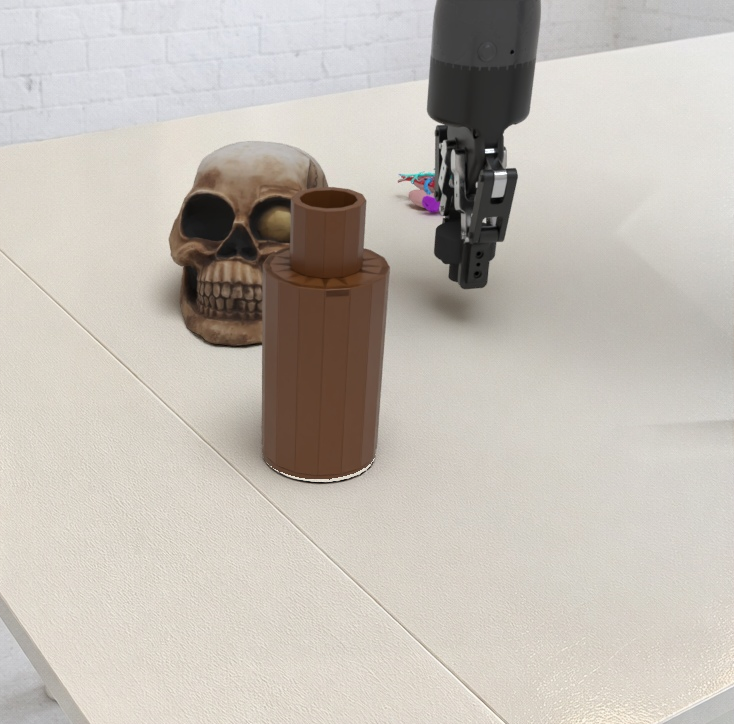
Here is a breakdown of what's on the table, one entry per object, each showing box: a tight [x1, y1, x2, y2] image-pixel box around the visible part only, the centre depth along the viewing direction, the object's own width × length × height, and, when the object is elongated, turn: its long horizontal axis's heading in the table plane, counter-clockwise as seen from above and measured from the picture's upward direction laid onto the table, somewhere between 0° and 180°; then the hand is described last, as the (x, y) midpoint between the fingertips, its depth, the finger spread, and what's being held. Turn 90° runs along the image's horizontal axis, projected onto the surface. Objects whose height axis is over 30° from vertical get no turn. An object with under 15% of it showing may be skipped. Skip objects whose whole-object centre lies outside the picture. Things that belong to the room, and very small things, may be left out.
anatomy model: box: [397, 167, 452, 214], centre depth 114 cm, size 5×8×7 cm
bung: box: [433, 220, 497, 283], centre depth 90 cm, size 5×5×4 cm
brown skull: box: [168, 140, 329, 347], centre depth 93 cm, size 16×17×13 cm
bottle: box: [261, 186, 391, 480], centre depth 69 cm, size 7×7×17 cm
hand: (462, 273), depth 91 cm, fingers closed on bung, 4 cm apart
